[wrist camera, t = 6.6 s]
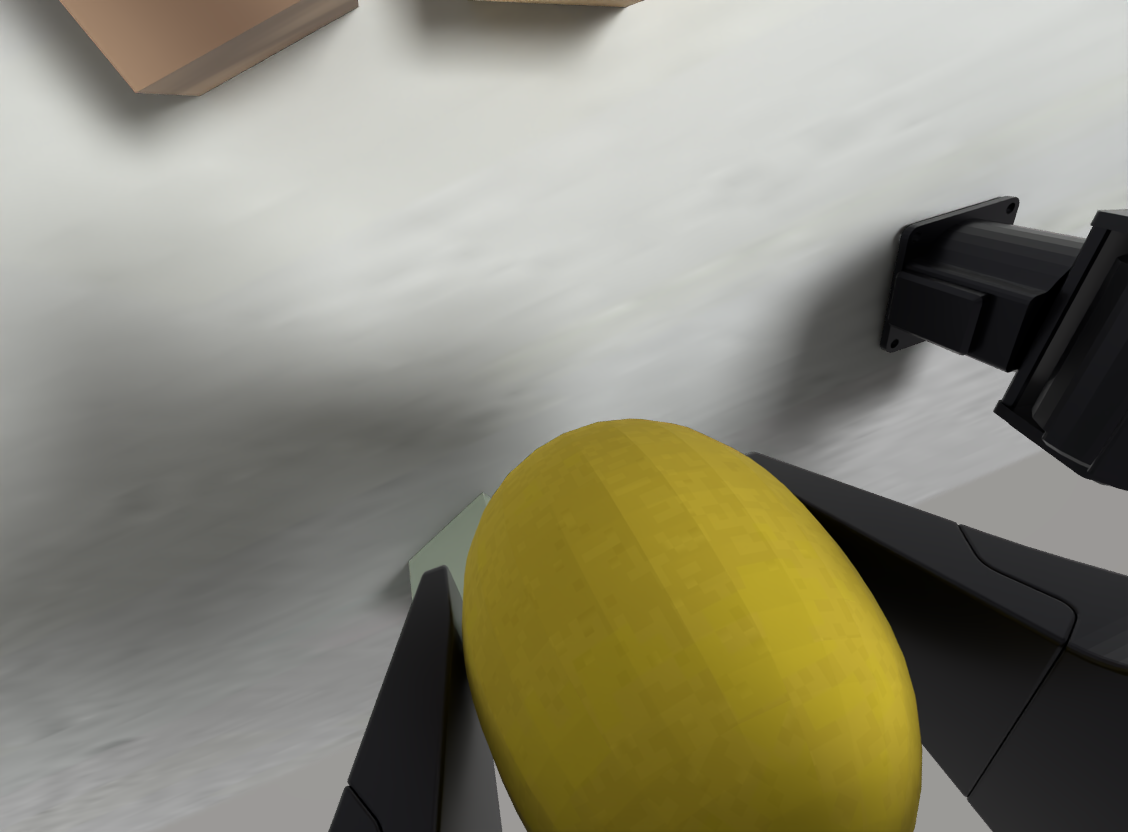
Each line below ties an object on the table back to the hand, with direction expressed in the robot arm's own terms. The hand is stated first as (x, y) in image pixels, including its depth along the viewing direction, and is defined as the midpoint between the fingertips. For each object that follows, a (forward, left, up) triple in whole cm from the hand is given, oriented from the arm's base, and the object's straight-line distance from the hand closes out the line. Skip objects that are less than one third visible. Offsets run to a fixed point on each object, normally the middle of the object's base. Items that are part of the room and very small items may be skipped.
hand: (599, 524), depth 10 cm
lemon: (0, 0, -2) cm, 2 cm away
